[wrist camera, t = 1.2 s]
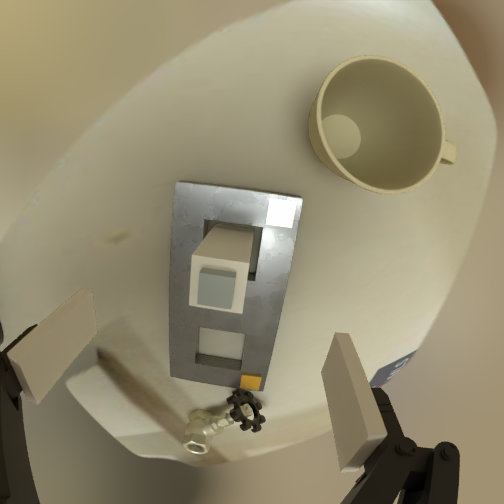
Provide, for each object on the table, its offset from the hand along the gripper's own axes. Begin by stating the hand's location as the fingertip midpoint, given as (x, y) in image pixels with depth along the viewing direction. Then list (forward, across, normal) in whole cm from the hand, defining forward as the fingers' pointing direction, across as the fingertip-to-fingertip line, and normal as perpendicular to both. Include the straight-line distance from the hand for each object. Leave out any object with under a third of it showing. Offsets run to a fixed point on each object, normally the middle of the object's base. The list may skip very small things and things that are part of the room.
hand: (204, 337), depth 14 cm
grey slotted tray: (+16, 0, -6) cm, 17 cm away
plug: (+16, 0, 0) cm, 16 cm away
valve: (+17, 0, -25) cm, 30 cm away
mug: (+17, +10, +13) cm, 23 cm away
